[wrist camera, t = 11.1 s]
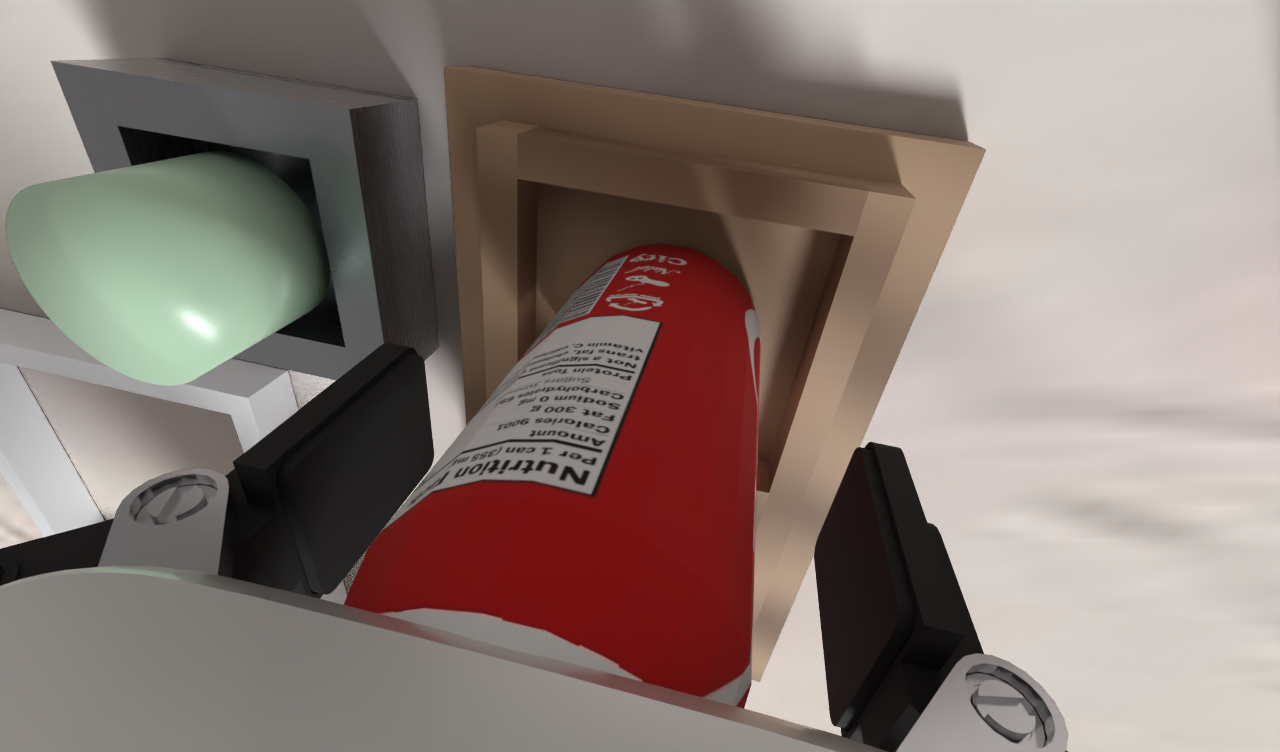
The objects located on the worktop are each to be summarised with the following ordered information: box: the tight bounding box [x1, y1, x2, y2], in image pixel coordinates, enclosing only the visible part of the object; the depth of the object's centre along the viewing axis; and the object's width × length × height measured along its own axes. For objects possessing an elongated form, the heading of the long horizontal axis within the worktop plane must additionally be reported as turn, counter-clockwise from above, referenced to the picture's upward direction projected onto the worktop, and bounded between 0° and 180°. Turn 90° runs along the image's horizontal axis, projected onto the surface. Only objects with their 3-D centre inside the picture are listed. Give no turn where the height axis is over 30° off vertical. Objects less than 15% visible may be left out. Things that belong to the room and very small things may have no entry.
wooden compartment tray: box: [444, 66, 986, 682], centre depth 19 cm, size 22×13×3 cm, turn 173°
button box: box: [51, 58, 439, 380], centre depth 17 cm, size 8×8×3 cm
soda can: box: [344, 244, 761, 709], centre depth 11 cm, size 6×6×12 cm
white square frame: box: [0, 309, 347, 605], centre depth 25 cm, size 15×15×2 cm
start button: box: [5, 151, 330, 386], centre depth 14 cm, size 5×5×4 cm
